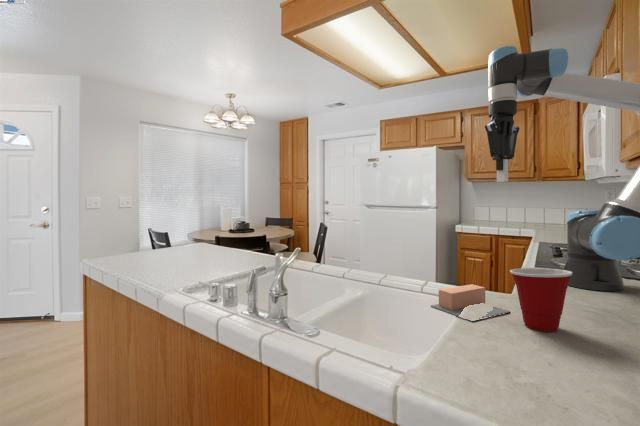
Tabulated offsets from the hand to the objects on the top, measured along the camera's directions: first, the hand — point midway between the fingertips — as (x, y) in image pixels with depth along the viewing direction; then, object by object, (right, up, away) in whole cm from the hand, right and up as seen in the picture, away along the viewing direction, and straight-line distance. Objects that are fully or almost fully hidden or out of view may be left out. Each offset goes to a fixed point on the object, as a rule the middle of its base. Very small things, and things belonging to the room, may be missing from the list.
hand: (502, 181), depth 98 cm
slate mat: (-19, -33, -19) cm, 42 cm away
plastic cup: (-9, -33, -30) cm, 46 cm away
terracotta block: (-13, -30, -13) cm, 36 cm away
